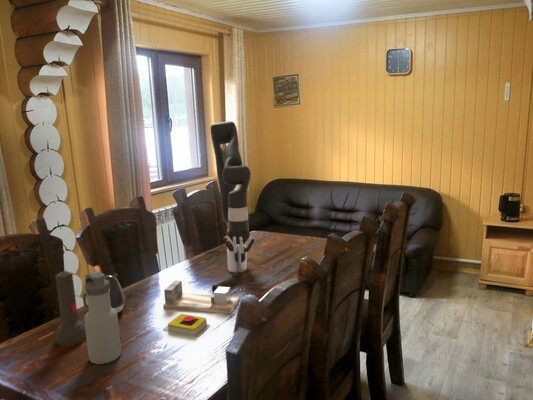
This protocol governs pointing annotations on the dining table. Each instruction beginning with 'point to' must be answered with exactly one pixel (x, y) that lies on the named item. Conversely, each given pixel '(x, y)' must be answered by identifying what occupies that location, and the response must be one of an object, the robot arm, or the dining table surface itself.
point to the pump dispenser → (115, 293)
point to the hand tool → (229, 281)
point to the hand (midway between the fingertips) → (240, 261)
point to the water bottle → (100, 320)
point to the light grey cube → (222, 295)
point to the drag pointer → (212, 300)
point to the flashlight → (68, 312)
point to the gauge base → (193, 300)
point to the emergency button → (187, 325)
